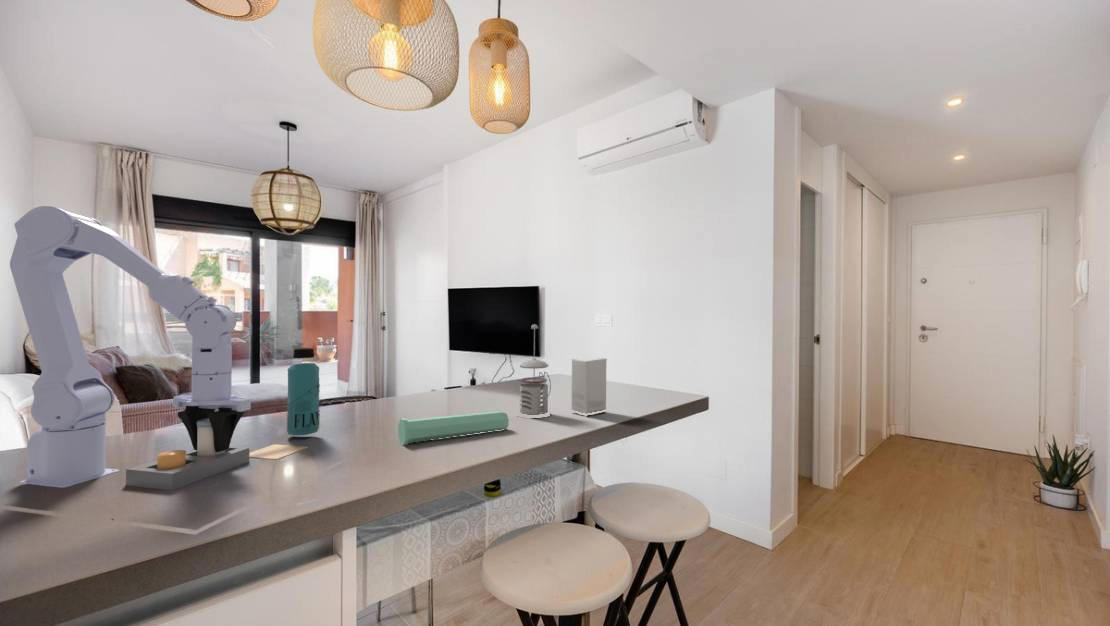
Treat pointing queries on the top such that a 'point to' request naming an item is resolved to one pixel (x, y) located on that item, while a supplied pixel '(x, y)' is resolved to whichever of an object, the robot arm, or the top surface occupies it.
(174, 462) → the orange cylinder
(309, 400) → the beverage bottle
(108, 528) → the top surface
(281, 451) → the mat
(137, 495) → the top surface
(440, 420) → the container
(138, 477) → the housing
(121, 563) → the top surface
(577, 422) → the top surface
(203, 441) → the cartridge
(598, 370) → the skincare box
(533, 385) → the french press
